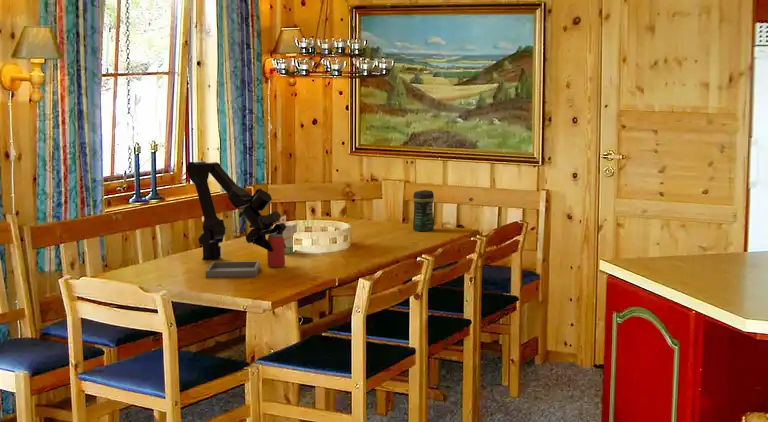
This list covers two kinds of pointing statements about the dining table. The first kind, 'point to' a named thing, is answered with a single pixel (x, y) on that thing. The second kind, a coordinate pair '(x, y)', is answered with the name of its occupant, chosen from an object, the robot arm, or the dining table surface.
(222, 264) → the parts tray
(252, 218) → the robot arm
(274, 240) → the beer can
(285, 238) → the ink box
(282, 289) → the dining table surface
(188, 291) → the dining table surface
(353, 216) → the dining table surface
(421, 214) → the coffee jar
